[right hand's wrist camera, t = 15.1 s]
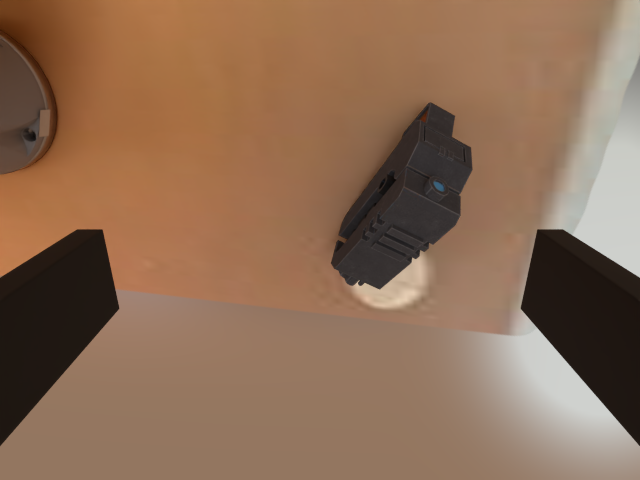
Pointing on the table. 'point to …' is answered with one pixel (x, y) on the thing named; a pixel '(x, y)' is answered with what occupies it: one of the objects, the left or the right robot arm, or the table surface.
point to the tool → (405, 202)
